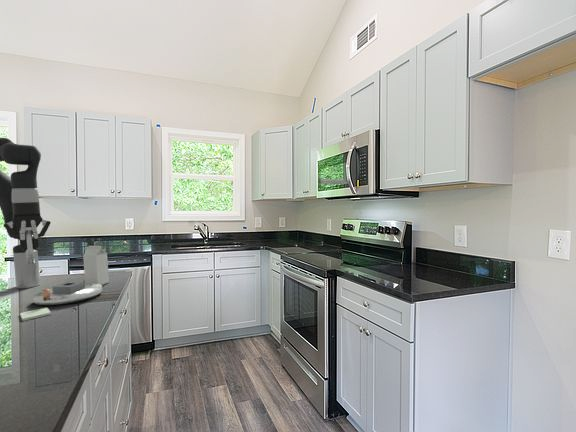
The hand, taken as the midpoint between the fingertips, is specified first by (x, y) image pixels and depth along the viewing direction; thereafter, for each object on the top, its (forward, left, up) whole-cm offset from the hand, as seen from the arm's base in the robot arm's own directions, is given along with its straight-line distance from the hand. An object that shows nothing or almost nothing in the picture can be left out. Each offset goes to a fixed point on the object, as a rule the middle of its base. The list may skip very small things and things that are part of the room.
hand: (29, 249), depth 115 cm
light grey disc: (-14, +13, -23) cm, 30 cm away
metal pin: (0, 0, -5) cm, 5 cm away
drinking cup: (-42, +28, -24) cm, 56 cm away
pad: (0, 0, -24) cm, 24 cm away
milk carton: (-29, +27, -24) cm, 46 cm away
